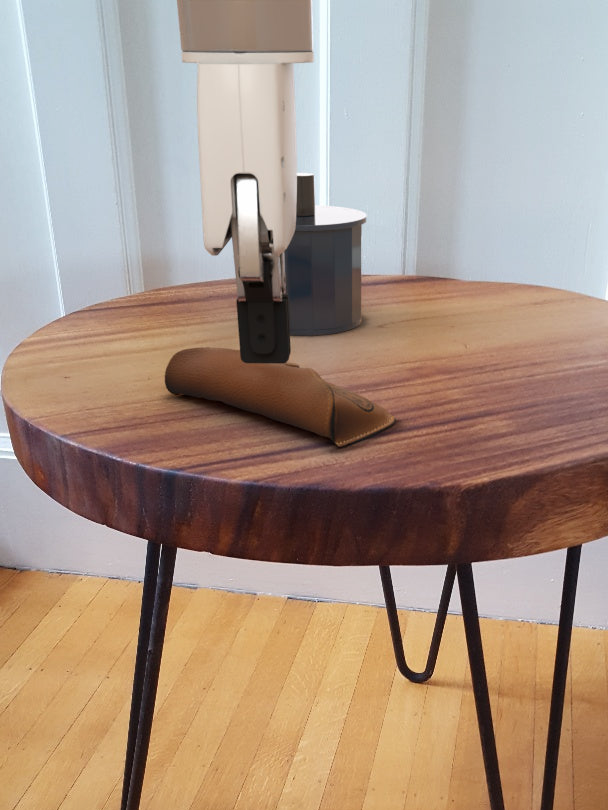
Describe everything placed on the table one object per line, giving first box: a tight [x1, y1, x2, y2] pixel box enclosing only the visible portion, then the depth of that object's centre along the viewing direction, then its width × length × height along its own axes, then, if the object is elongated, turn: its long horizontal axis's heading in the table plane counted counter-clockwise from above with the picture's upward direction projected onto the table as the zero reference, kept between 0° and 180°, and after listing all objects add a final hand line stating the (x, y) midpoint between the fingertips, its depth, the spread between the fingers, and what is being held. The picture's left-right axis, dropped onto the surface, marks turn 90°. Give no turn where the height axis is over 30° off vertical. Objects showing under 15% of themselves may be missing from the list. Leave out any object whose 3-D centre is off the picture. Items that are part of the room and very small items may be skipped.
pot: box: [282, 224, 363, 337], centre depth 95 cm, size 11×11×10 cm
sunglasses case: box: [164, 346, 397, 448], centre depth 74 cm, size 18×7×7 cm, turn 51°
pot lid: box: [295, 172, 368, 231], centre depth 92 cm, size 12×12×5 cm
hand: (266, 359), depth 64 cm, fingers closed
